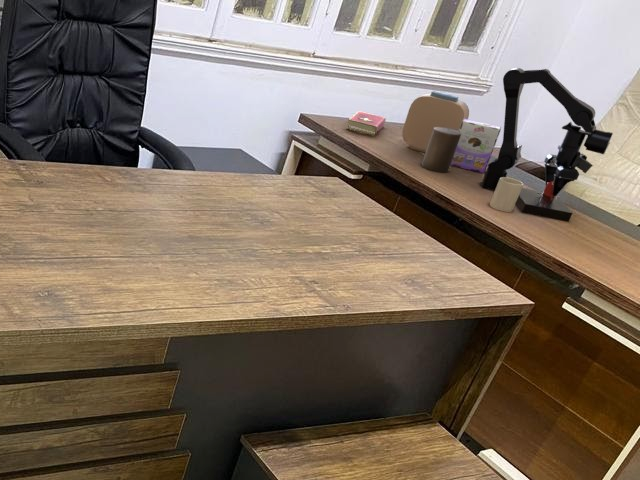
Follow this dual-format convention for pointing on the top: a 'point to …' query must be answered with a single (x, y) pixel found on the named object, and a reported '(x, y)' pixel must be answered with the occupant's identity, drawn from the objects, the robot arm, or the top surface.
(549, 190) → the red cube
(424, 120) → the alarm clock
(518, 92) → the robot arm
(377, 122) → the hardcover book
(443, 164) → the pillar candle
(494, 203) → the cup
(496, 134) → the candy box
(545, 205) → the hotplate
